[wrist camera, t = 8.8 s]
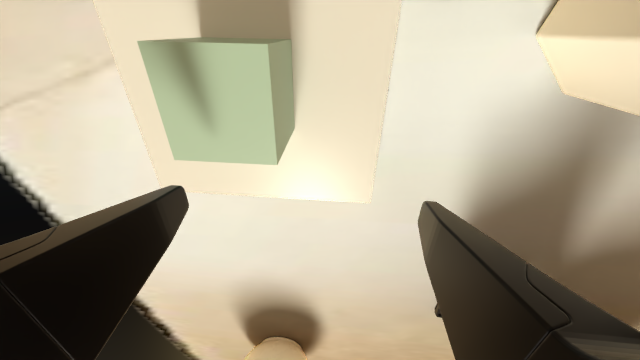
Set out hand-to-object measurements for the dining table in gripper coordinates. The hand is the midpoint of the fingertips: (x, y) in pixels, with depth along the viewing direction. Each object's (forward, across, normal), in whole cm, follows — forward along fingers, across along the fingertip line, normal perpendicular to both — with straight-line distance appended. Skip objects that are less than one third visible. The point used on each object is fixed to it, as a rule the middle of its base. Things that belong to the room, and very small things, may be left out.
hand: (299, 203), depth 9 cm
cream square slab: (+11, +4, -3) cm, 12 cm away
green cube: (+8, +4, -3) cm, 9 cm away
